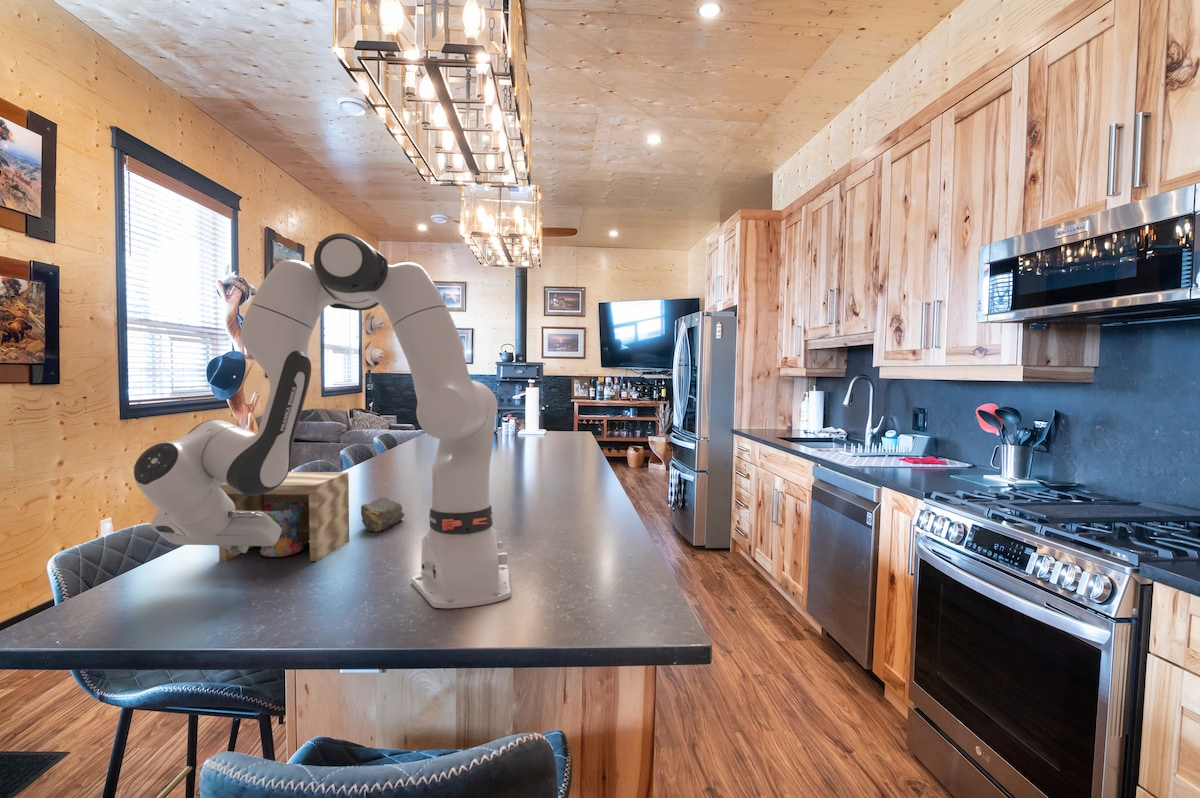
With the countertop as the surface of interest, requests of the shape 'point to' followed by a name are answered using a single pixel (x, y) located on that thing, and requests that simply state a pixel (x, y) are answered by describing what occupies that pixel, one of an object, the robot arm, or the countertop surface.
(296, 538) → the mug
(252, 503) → the shelf unit
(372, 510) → the rock
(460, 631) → the countertop surface
